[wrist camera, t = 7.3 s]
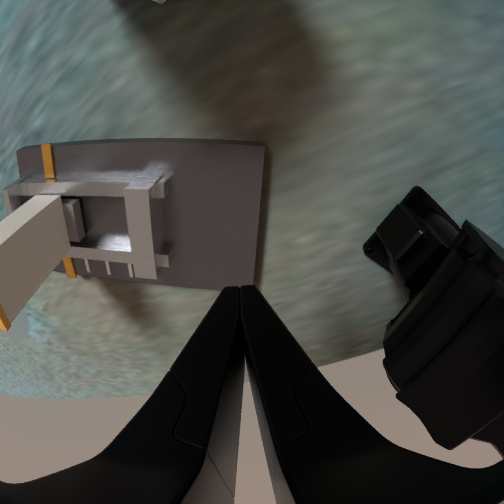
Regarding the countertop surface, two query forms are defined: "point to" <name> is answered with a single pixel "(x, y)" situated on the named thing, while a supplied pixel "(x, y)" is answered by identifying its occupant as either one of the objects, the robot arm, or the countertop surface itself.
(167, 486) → the robot arm
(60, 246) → the fader
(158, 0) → the skincare box
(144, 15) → the countertop surface
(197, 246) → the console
